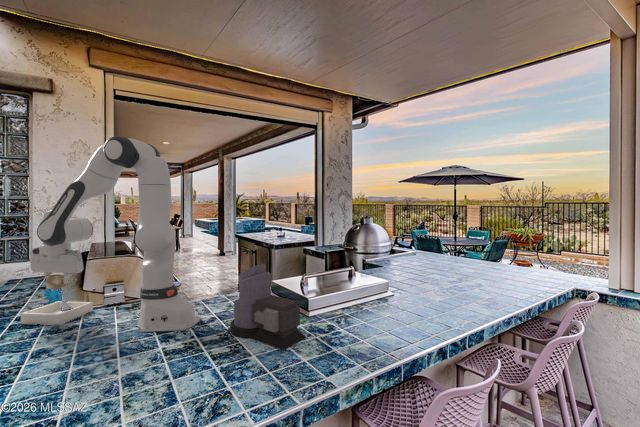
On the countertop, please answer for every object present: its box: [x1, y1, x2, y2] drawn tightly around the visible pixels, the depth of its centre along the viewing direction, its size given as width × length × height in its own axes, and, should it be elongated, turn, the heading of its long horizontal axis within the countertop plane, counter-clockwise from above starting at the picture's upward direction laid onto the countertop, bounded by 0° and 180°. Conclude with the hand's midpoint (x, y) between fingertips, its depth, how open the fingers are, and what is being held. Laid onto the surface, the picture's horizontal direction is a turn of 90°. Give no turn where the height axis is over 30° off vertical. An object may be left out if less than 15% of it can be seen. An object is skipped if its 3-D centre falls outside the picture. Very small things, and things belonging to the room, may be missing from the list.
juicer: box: [226, 263, 307, 351], centre depth 114 cm, size 30×16×24 cm, turn 53°
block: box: [45, 273, 70, 290], centre depth 130 cm, size 5×5×5 cm
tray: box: [20, 300, 94, 326], centre depth 131 cm, size 16×16×4 cm
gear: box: [43, 289, 62, 305], centre depth 148 cm, size 11×6×10 cm
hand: (57, 283), depth 130 cm, fingers closed on block, 5 cm apart
